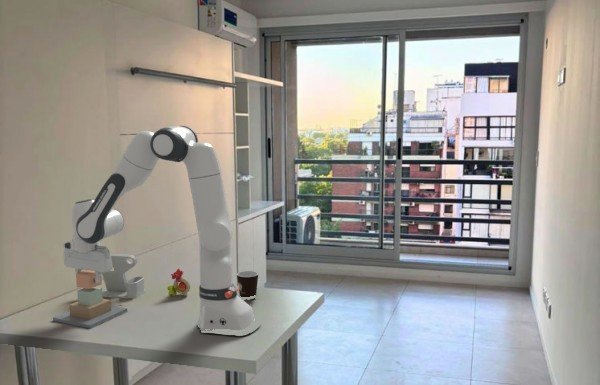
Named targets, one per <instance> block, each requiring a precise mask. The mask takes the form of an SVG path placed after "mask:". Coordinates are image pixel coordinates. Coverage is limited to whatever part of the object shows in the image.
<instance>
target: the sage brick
mask: <svg viewBox="0 0 600 385" xmlns="http://www.w3.org/2000/svg"><path fill="white" fill-rule="evenodd" d="M76 292H77V302H78V304H82V305H87V306H92V305H94V304H97V303H99V302H102V301H103V299H104V297H103V287H100V286H96V287H93V288H90V289H86V288H81V289H78V290H77V291H76Z"/></svg>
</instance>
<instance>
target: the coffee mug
mask: <svg viewBox="0 0 600 385" xmlns="http://www.w3.org/2000/svg"><path fill="white" fill-rule="evenodd" d="M236 278H237V285H238V286H237V287H239V290H238V293H239V297H240V296H241V297H250V296H254V295H256V296H257V292H258V291H257V290H258V281H259V280H258V279H259V272H257V271H255V270H254V271H253V270H242V271H239V272H237V273H236Z"/></svg>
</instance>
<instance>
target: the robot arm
mask: <svg viewBox="0 0 600 385" xmlns="http://www.w3.org/2000/svg"><path fill="white" fill-rule="evenodd" d="M215 150H216V149H215V147H214V146H213V145H212V144H210V143H208V142H199V139H198V135H197V134H196V132H195V130H193V129H192V128H191V127H189V126H185V125H171V126H170V125H169V126H167V127H163V128H160V129H158V130H156V131H155V132H153V131H150V130H141V131H139V132H137V133H136V134H135V136H134V137H133V138H132V139H131V141H130V142H129V144H128V146H127V147H126V149H125V151H124V153H123V155H122V157H121V158H120V160H119V162H118V164H117V165H116V167H115V169H114V170H113V172H112V173H111V174H110V176H109V177H108V178H107V180H106V181H105V183H104V184H103V186H102V187H101V189H100V191H99V192H98V194H97V195H96V197H95V198H94V199H93V198H92V199H91V198H90V199H83V200H80V201H76V202H75V203H74V204H73V205H72V209H71V210H72V211H71V225H72V228H73V234H72V240H69V241H66V242H63V244H62V248H63V249H64V250H63V264H64V266H65V267H66V268H69V269H70V268H71V269H74V271H75V274H76V273H79V272H82V271H85V270H90V271H95V274H96V276H95V278H93V280H94V281H93V282H94V283H99V282H100V276H101V277H102V272H104V273H105V272H108V271H112V269H113V267H112V260H111V255H110V254H111V253H110V252H111V250H110V249H108V247H107V246H106V245H101V241H102V240H105V239H107V238H109V237H112V236H115V235H117V234H119V233H121V231H122V230H123V228H124V225H125V224H124V223H125V220H124V217H123V215H122V213H121V212H120V211H119V210H118V209H114V207H115V205H116V203H117V202H118V200H120V198H121V197H123V196H125V194H127V193H129V192H130V191H132V190H134V189H136V188H138V187H141V186H142V185H144V184H145V183H146V181H147V180H148V179H149V177H150V176H151V174H152V173H153V171H154V169H155V167H156V165H157V163H158V161H159V160H164V161H169V162H175V163H181V162H183V163H184V165H185V167H186V171H187V176H188V182H189V187H190V192H191V199H192V202H193V210H194V216H195V222H196V228H197V234H198V240H199V242H198V243H199V274H200V275H199V279H200V280H199V281H200V283H199V287H198V288H199V295H198V296H199V299H200V301H199V302H200V303H199V312H198V318H197V322H196V326H197V325H198V326H199V327H200V329H199V331H200V330H201V331H206V330H205V329H210V330H207V331H212V330H213V329H214V330H215V329H230V330H242V329H245V328H247V327H248V326H250V325H251V324H252V323H253V322H254V321H255V319H256V318H255V313H254V310H253V307H252V306H251V305H249V304H248V303H247V302H246V300H242V299H241V298H240V295H238V292H239V286H237V287H235V285H234V282H233V258H232V257H233V254H232V237H233V230H232V225H231V219H230V214H229V213H230V212H229V208H228V204H227V203H228V202H227V197H226V193H225V192H226V191H225V186H224V180H223V175H222V171H221V166H220V162H219V158H218V156H217V152H216V151H215Z"/></svg>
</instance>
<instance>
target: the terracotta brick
mask: <svg viewBox="0 0 600 385" xmlns="http://www.w3.org/2000/svg"><path fill="white" fill-rule="evenodd" d="M81 271H82V272H79V273H76V272H75V278H76V279H75V281H76V288H81V289H83V288H86V289H90V288H93V287H100V286H101V285H102V283H103V282H102V275H101V276H100V282H99V283H94V282H93V281H94V280H93V278H95V276H96V274H95V271H90V270H81Z"/></svg>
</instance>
